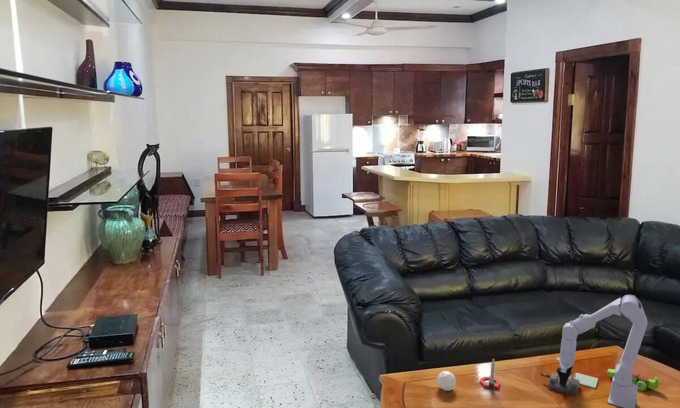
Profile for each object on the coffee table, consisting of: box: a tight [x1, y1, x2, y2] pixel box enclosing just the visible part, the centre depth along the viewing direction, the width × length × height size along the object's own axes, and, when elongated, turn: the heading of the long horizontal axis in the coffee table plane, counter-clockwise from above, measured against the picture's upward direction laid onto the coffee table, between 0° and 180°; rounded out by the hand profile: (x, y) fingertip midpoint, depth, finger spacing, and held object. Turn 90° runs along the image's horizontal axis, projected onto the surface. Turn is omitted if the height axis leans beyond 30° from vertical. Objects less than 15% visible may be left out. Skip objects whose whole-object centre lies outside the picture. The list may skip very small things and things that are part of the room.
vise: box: [540, 372, 581, 397], centre depth 222 cm, size 15×9×6 cm, turn 58°
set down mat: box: [573, 372, 599, 390], centre depth 227 cm, size 9×9×1 cm
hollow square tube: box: [558, 370, 576, 387], centre depth 220 cm, size 6×4×5 cm
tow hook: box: [479, 358, 501, 390], centre depth 222 cm, size 8×13×9 cm
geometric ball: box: [436, 370, 457, 392], centre depth 217 cm, size 8×8×8 cm
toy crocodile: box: [606, 368, 660, 392], centre depth 225 cm, size 20×7×6 cm, turn 49°
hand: (564, 381), depth 221 cm, fingers open, 7 cm apart
